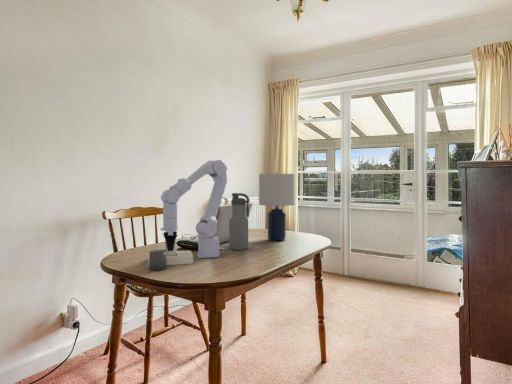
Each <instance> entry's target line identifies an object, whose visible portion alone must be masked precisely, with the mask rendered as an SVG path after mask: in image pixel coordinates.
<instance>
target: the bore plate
mask: <svg viewBox="0 0 512 384" xmlns="http://www.w3.org/2000/svg"><path fill="white" fill-rule="evenodd" d="M187 264H188V265H189V264H190V265H191V264H194V255H193V252H192V250H176V256H166V266H173V265H174V266H175V265H187ZM147 267H149V254H148V256H147Z"/></svg>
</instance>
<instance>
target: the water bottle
mask: <svg viewBox="0 0 512 384" xmlns="http://www.w3.org/2000/svg"><path fill="white" fill-rule="evenodd" d="M231 196H232V199H231V208H232V209H231V211H232V213H231V217H230V218H229V219H228V247H229V249H230V250H231V251H232V250H233V251H245V250H247V249H249V219H248V218H249V215H250V213H249V212H250V211H249V210H250V207H249V203H250V198H249V196H248V195H247V194H246V193H242V192H240V193H239V192H234V193H231ZM239 196H240V197H239ZM243 197H244V198H243Z"/></svg>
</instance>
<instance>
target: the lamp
mask: <svg viewBox="0 0 512 384" xmlns="http://www.w3.org/2000/svg"><path fill="white" fill-rule="evenodd" d="M295 175H296V174H295V173H279V172H275V173H259V174H258V176H259V177H258V205H260V206H266V207H267V206H268V207H269V206H271V207H272V206H273V207H274V208H271V209H270V210H269V211H268V213H267V239H268V241H272V242H283V241H284V240H286V233H287V231H286V226H287V225H286V224H287V222H286V220H287V219H286V218H287V217H286V212H285V211H284V209H283V208H280V207H287V206H288V207H289V206H295V200H296V198H295V197H296V196H295V193H296V192H295V188H296V187H295V186H296V185H295V183H296V179H295V177H296V176H295Z"/></svg>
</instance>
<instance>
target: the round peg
mask: <svg viewBox="0 0 512 384" xmlns="http://www.w3.org/2000/svg"><path fill="white" fill-rule="evenodd" d="M148 255H149V266H148V267H149V269H148V270H149V271H151V272H161V271H165V270H167V265H166V250H165V249H153V250H152V249H151V250H149V251H148Z"/></svg>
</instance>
